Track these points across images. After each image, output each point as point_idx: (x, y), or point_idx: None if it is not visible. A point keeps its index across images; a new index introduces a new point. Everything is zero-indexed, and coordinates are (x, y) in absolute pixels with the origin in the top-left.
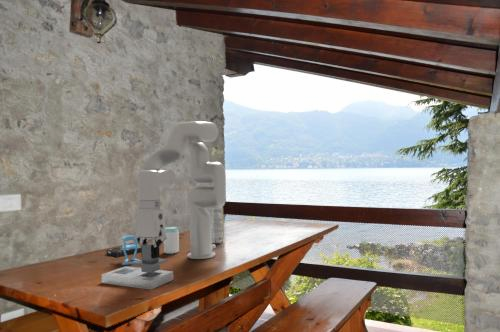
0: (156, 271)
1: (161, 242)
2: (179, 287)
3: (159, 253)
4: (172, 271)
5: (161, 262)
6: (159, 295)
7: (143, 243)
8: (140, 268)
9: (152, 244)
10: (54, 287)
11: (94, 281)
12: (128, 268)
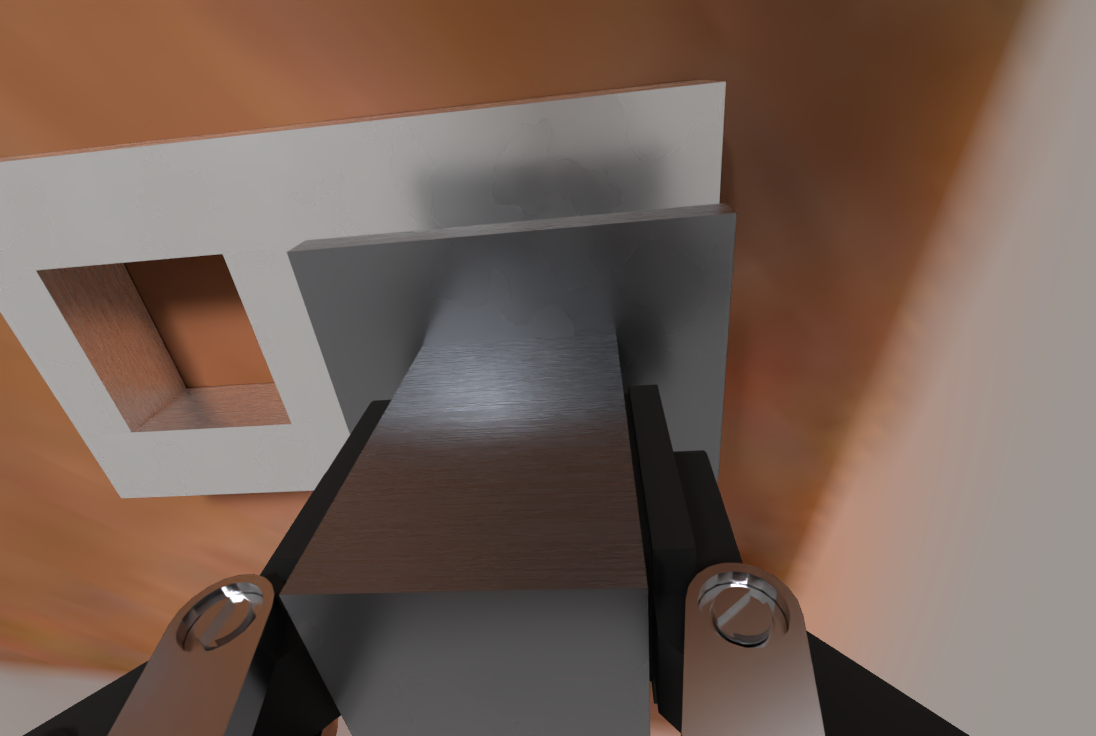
0: (500, 193)
1: (915, 733)
2: (921, 276)
3: (708, 459)
4: (719, 84)
5: (721, 371)
6: (839, 487)
7: (308, 725)
8: (182, 171)
9: (622, 730)
10: (53, 601)
11: (83, 444)
12: (64, 240)
